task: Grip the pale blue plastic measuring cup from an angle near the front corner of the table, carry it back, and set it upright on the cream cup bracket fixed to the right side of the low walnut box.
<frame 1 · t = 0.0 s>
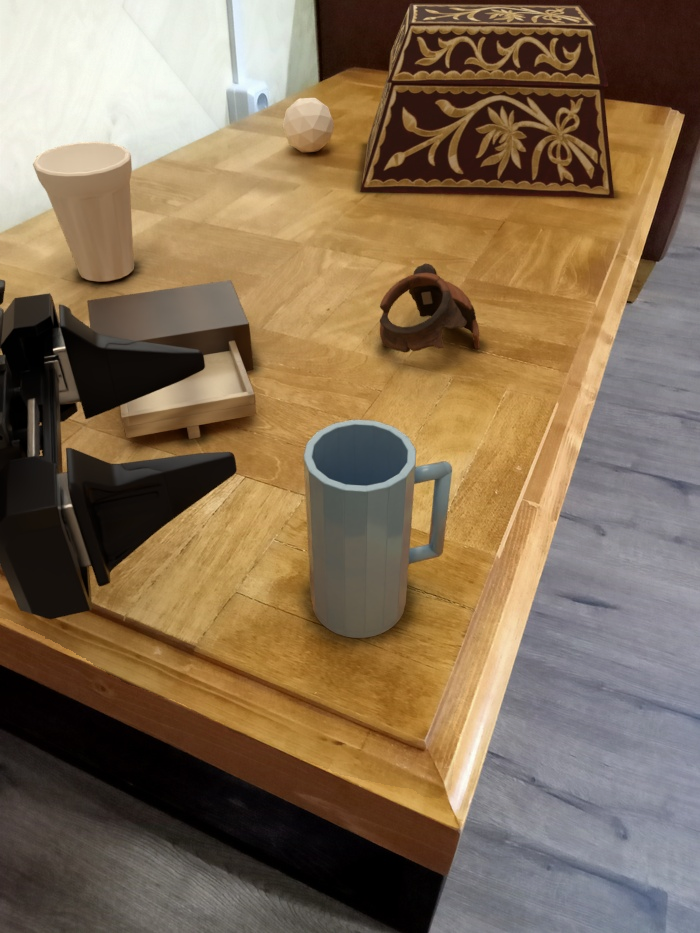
hand: (218, 406, 39), 18 cm above the table, tool horizontal, fingers open, 9 cm apart
pottery mug: (428, 341, 79), on the table
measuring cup: (358, 600, 53), on the table
cup: (107, 273, 90), on the table
walnut box: (174, 356, 76), on the table
geometric ball: (309, 151, 121), on the table
decorative box: (481, 170, 115), on the table
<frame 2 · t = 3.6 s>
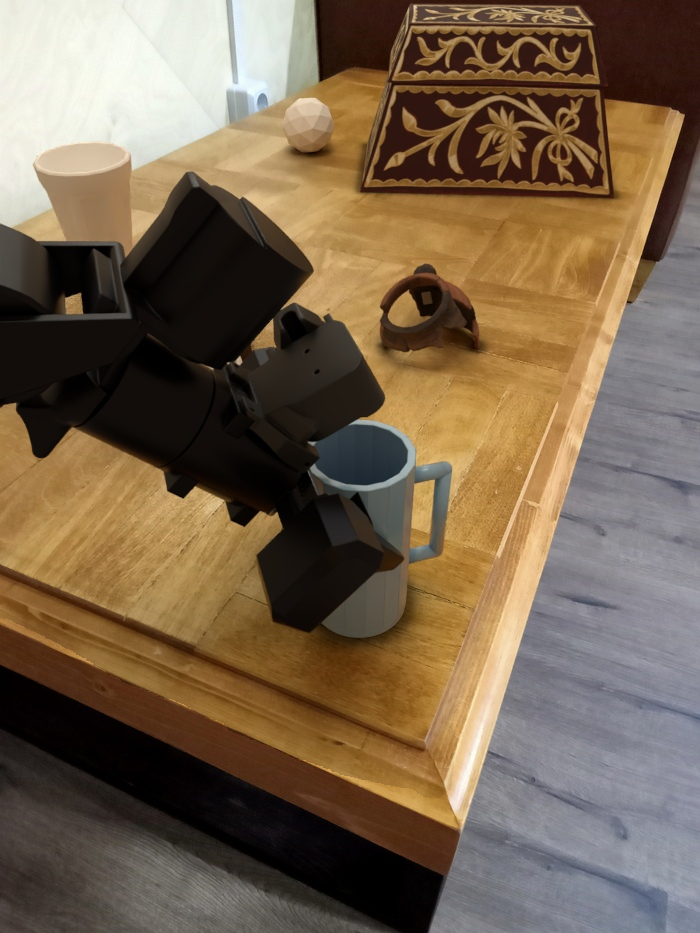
hand: (380, 525, 49), 7 cm above the table, tool tilted 45°, fingers closed on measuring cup, 6 cm apart
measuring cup: (358, 599, 53), on the table, touching gripper
everything else where it was.
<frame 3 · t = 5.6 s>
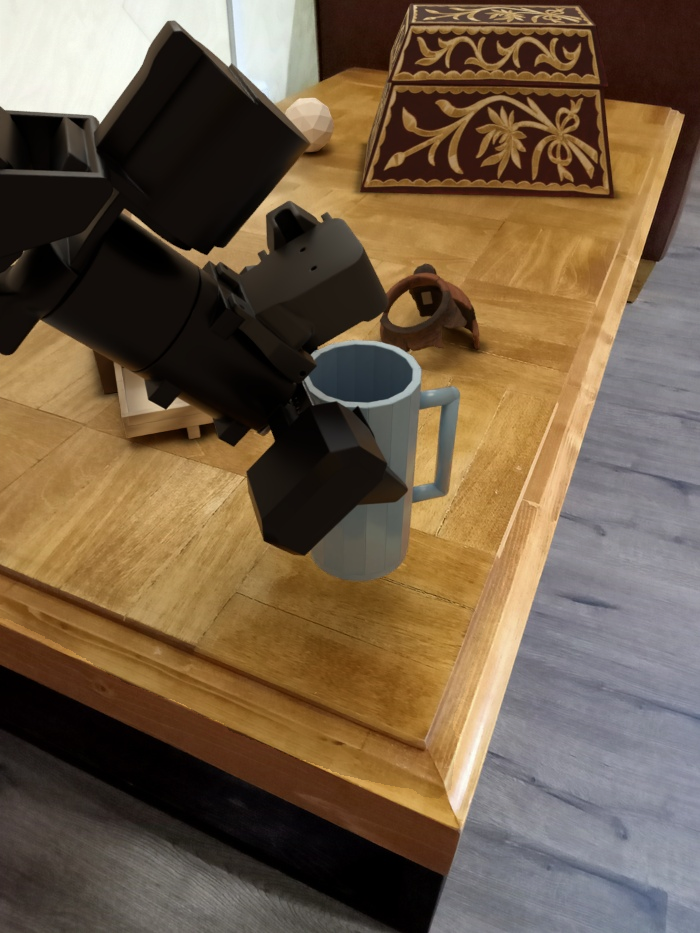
hand: (382, 457, 45), 12 cm above the table, tool tilted 45°, fingers closed on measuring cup, 6 cm apart
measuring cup: (358, 543, 49), point 6 cm above the table, touching gripper
everything else where it was.
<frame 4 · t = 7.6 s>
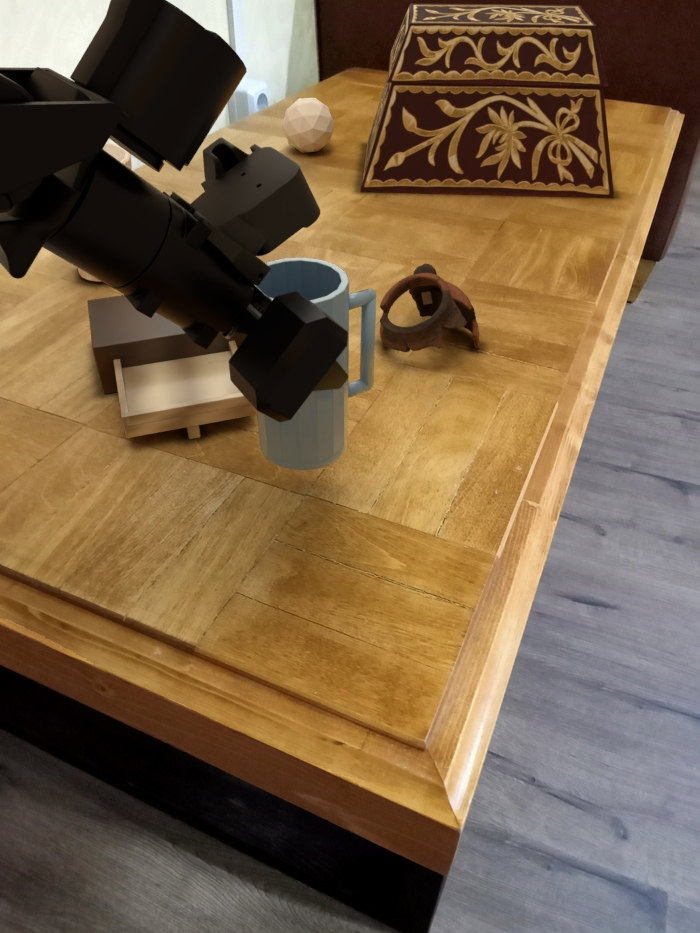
hand: (318, 358, 53), 12 cm above the table, tool tilted 45°, fingers closed on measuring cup, 6 cm apart
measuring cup: (303, 442, 57), point 6 cm above the table, touching gripper
everything else where it was.
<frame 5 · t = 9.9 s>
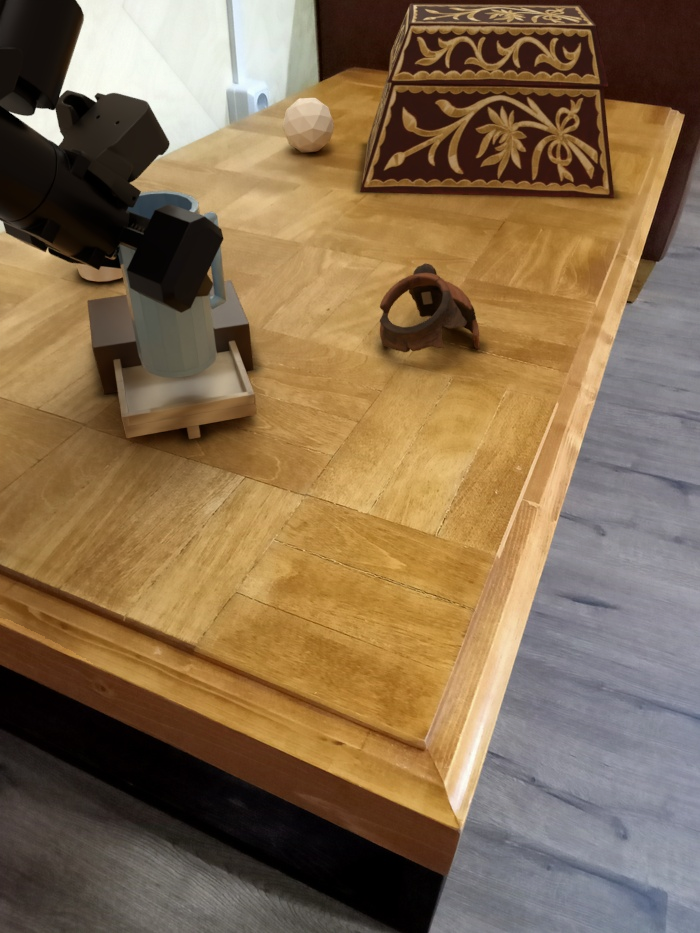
hand: (180, 277, 62), 12 cm above the table, tool tilted 45°, fingers closed on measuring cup, 6 cm apart
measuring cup: (179, 356, 66), point 6 cm above the table, touching gripper
everything else where it was.
when the fingers open (9 cm above the table, at t = 11.6 s): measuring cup stays where it is, resting on walnut box.
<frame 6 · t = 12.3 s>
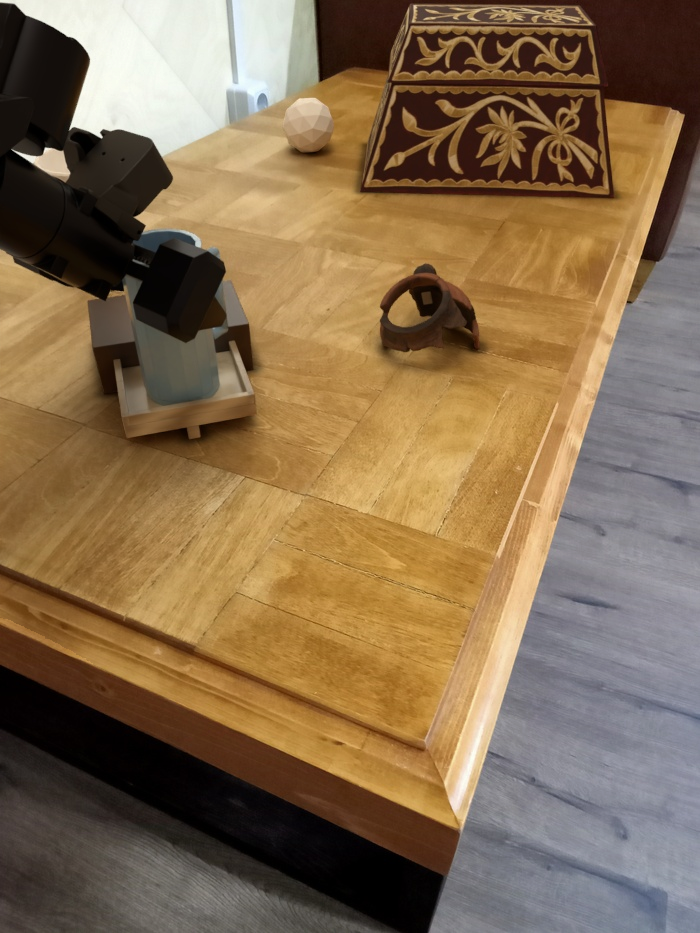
hand: (183, 302, 64), 10 cm above the table, tool tilted 45°, fingers open, 9 cm apart
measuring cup: (183, 385, 68), point 2 cm above the table, touching walnut box
everything else where it was.
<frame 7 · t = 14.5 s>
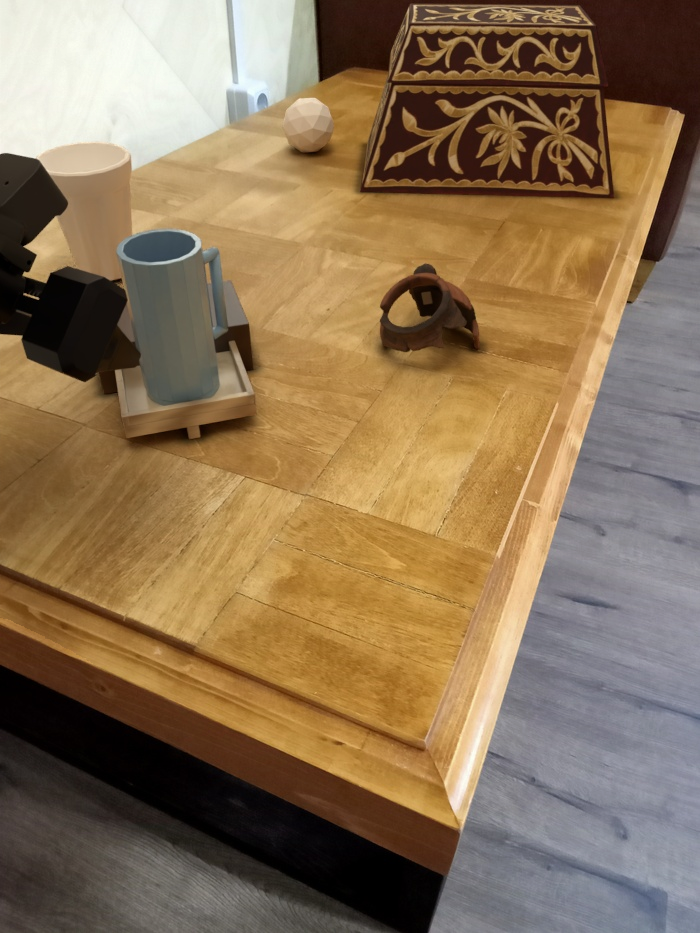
hand: (94, 345, 58), 11 cm above the table, tool tilted 40°, fingers open, 9 cm apart
nothing on the table moved.
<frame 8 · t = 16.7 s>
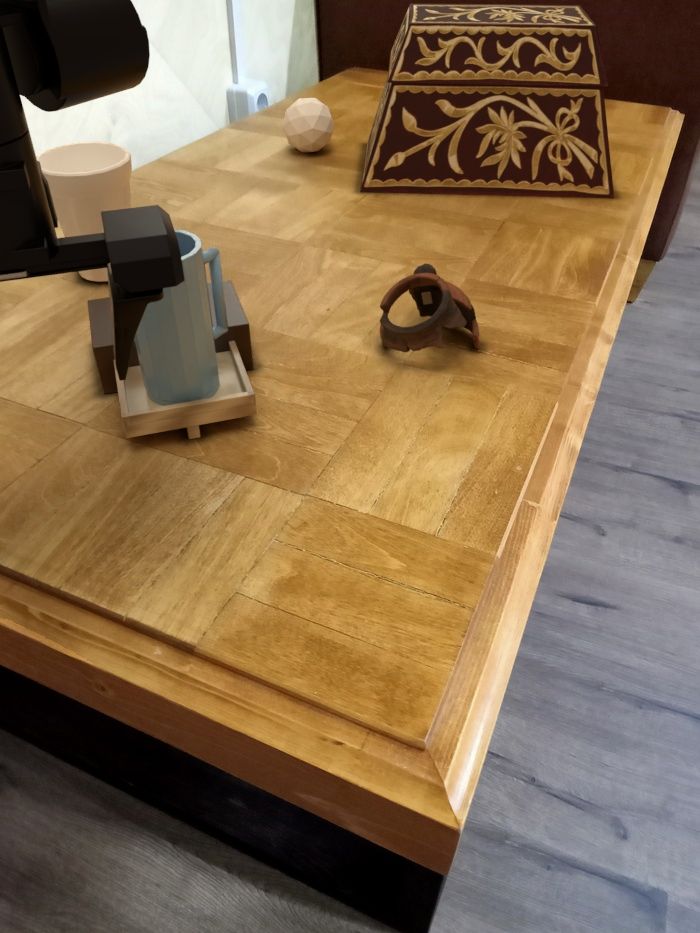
hand: (48, 389, 49), 13 cm above the table, tool pointing down, fingers open, 9 cm apart
nothing on the table moved.
at the end: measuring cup inside the target area on the walnut box (0.2 cm from its centre), point 2.5 cm above the walnut box's base; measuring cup tilted 0°; the gripper is holding nothing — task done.
